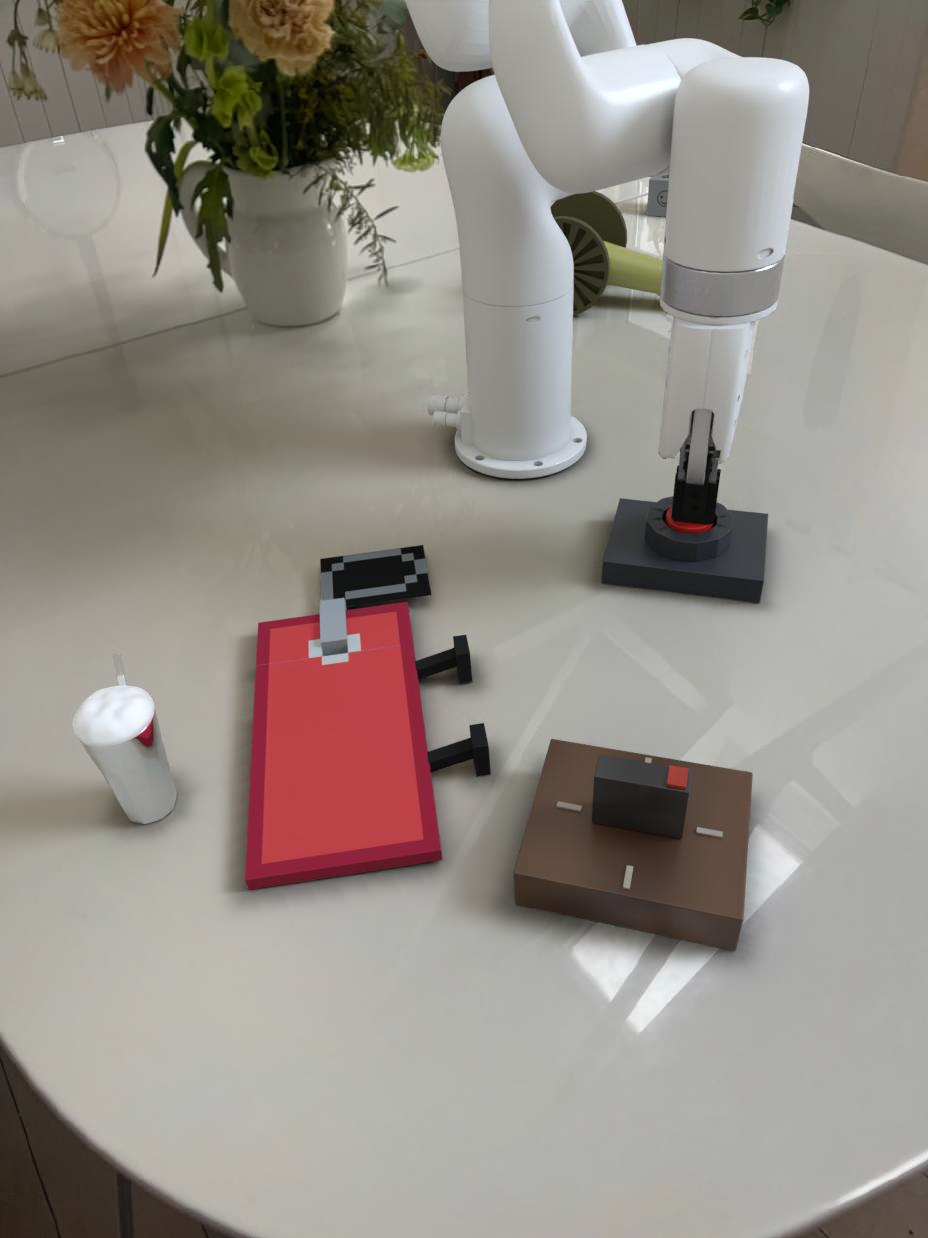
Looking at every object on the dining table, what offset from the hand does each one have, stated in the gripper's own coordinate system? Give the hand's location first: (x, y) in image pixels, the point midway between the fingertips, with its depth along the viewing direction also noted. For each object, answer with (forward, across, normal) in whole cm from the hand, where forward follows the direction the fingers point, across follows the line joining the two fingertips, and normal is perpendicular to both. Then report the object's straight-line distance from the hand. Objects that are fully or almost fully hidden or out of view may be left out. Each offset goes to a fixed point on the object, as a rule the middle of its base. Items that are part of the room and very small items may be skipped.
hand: (693, 516), depth 73 cm
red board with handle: (+4, +20, -20) cm, 29 cm away
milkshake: (+4, +32, -30) cm, 44 cm away
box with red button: (+1, +29, 0) cm, 29 cm away
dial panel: (+4, +29, 0) cm, 29 cm away
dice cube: (+4, -86, -11) cm, 87 cm away
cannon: (+4, -51, -13) cm, 53 cm away
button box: (+4, 0, 0) cm, 4 cm away
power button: (+2, 0, 0) cm, 2 cm away
